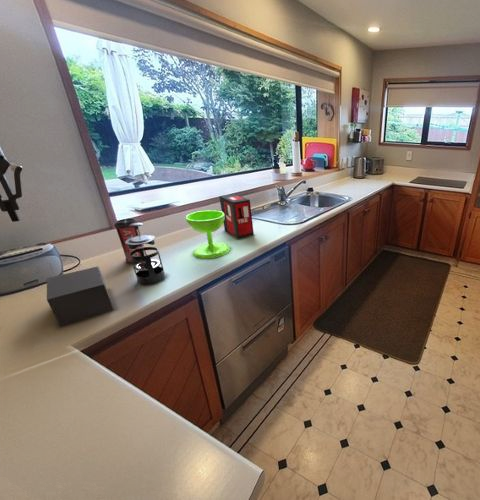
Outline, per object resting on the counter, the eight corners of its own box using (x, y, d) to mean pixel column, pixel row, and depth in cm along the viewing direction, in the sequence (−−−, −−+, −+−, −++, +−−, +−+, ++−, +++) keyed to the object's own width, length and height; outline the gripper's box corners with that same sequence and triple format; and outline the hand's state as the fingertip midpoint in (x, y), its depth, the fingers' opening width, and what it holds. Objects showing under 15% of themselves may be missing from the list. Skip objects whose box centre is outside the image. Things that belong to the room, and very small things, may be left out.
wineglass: (236, 246, 141) (231, 211, 134) (217, 260, 127) (210, 222, 119) (207, 242, 143) (201, 209, 136) (185, 256, 129) (177, 219, 122)
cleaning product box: (224, 230, 160) (219, 196, 151) (239, 227, 166) (235, 193, 157) (238, 239, 150) (233, 202, 141) (253, 235, 156) (249, 199, 147)
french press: (169, 280, 110) (154, 225, 100) (140, 288, 104) (122, 230, 94) (161, 269, 117) (147, 217, 108) (134, 276, 111) (116, 221, 102)
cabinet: (58, 303, 94) (46, 278, 90) (107, 289, 103) (98, 266, 98) (60, 326, 84) (46, 299, 80) (113, 309, 92) (104, 284, 88)
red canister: (147, 254, 129) (136, 217, 122) (147, 260, 124) (136, 222, 116) (127, 257, 125) (114, 219, 118) (126, 264, 120) (112, 225, 112)
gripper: (13, 141, 87) (44, 213, 97) (-56, 141, 79) (-14, 221, 89) (11, 143, 82) (44, 219, 92) (-63, 144, 74) (-18, 227, 84)
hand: (16, 220), depth 90 cm, fingers closed
